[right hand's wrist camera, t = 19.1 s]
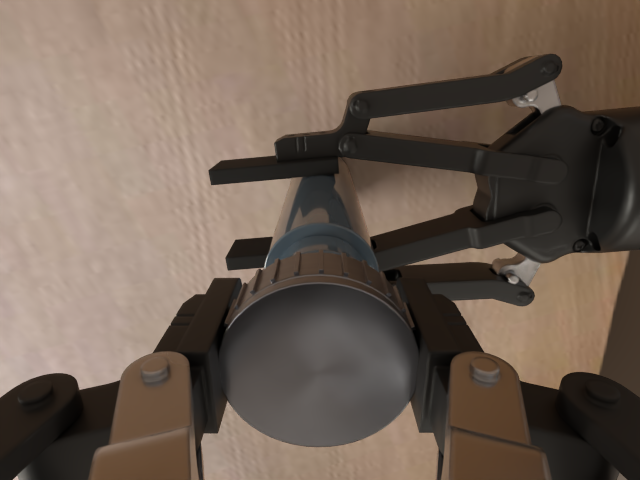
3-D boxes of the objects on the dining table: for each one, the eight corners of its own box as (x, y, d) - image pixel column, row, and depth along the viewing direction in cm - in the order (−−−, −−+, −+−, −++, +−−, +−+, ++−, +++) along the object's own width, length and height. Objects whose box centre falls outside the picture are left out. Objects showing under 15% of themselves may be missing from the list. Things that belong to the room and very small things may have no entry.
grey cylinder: (315, 218, 29) (308, 371, 14) (281, 173, 28) (230, 285, 13) (361, 186, 28) (409, 310, 13) (328, 138, 27) (336, 212, 12)
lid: (374, 219, 10) (385, 246, 8) (431, 371, 11) (448, 416, 10) (196, 286, 10) (174, 323, 9) (274, 420, 12) (268, 470, 10)
